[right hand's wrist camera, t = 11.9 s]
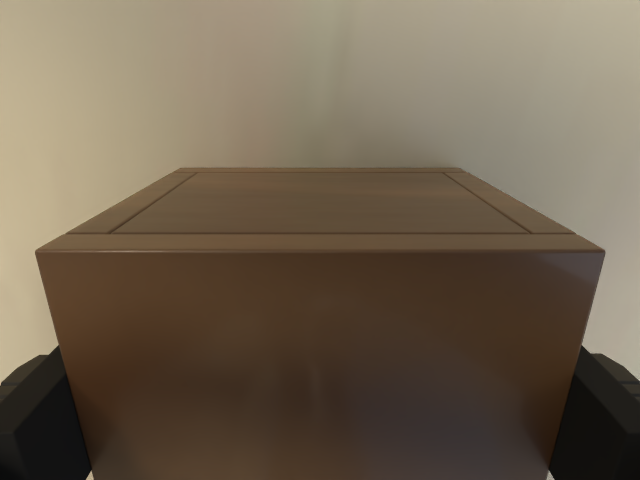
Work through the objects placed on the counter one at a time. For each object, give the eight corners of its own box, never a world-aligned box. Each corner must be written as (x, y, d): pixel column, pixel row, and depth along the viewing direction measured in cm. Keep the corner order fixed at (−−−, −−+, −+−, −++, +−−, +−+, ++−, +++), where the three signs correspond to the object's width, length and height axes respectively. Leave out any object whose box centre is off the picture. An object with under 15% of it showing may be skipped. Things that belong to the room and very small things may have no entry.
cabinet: (418, 520, 22) (474, 760, 14) (221, 520, 22) (165, 761, 14) (460, 167, 15) (608, 249, 8) (179, 167, 15) (32, 250, 8)
